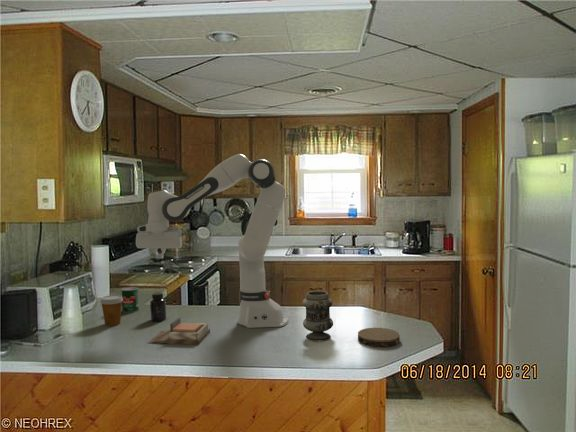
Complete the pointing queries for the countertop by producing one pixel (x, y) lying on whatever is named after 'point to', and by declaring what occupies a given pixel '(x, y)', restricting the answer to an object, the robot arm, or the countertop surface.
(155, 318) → the supplement bottle
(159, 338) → the loading dock
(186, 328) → the trolley
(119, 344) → the countertop surface
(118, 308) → the disposable coffee cup
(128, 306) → the canned tomato
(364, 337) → the brown round disc
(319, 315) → the apothecary jar
